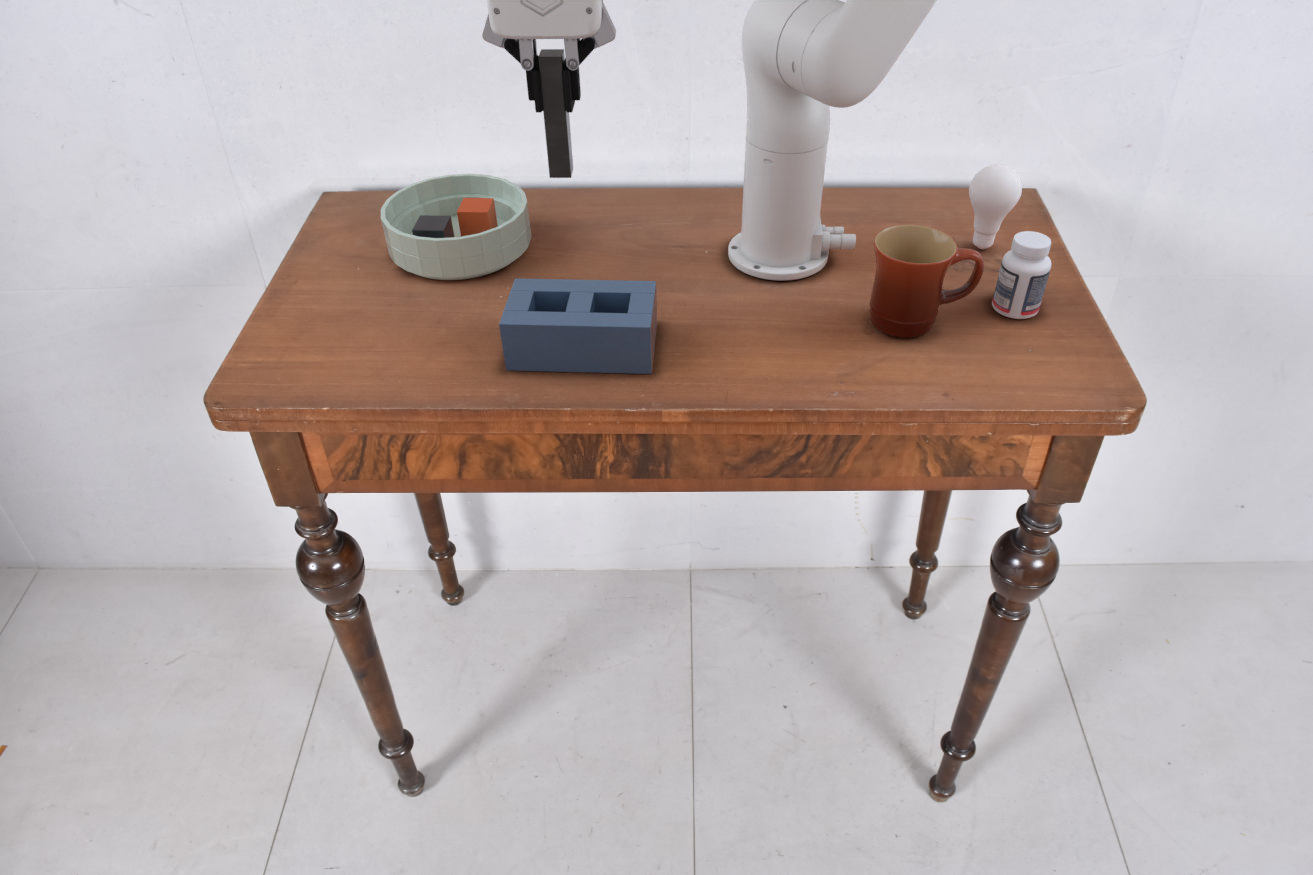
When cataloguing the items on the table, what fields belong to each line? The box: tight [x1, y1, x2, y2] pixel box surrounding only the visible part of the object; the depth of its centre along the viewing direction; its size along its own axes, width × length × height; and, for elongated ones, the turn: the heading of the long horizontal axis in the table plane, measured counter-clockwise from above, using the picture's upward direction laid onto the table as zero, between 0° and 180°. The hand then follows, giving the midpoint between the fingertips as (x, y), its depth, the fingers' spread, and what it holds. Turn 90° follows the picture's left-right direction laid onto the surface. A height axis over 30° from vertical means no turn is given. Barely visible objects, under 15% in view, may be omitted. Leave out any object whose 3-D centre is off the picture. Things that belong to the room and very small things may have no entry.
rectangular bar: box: [538, 48, 574, 179], centre depth 91 cm, size 2×2×12 cm
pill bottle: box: [991, 230, 1052, 320], centre depth 105 cm, size 5×5×9 cm
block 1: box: [412, 215, 454, 238], centre depth 117 cm, size 4×4×4 cm
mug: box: [869, 224, 985, 339], centre depth 102 cm, size 12×9×10 cm
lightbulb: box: [968, 163, 1023, 250], centre depth 115 cm, size 6×6×11 cm
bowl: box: [380, 173, 532, 281], centre depth 119 cm, size 18×18×6 cm
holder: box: [498, 277, 658, 375], centre depth 101 cm, size 9×16×6 cm, turn 86°
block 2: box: [457, 198, 498, 237], centre depth 121 cm, size 4×4×4 cm
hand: (555, 106), depth 91 cm, fingers closed on rectangular bar, 2 cm apart
